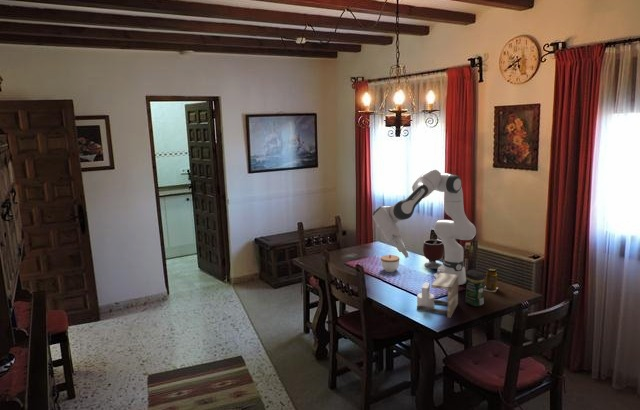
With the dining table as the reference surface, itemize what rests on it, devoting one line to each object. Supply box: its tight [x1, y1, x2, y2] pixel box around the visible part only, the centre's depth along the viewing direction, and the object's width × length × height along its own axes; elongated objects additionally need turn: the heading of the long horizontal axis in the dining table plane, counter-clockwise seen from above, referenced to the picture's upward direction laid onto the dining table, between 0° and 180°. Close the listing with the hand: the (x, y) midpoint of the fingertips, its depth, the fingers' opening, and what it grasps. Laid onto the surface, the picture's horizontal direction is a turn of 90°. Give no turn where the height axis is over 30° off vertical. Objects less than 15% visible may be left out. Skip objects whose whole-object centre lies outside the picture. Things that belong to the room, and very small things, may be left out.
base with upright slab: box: [416, 281, 435, 308], centre depth 240 cm, size 9×9×12 cm
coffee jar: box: [464, 269, 486, 307], centre depth 240 cm, size 10×8×19 cm
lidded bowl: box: [380, 254, 400, 273], centre depth 300 cm, size 13×13×11 cm
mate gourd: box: [422, 239, 445, 269], centre depth 306 cm, size 16×14×20 cm
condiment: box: [483, 268, 499, 293], centre depth 261 cm, size 7×8×12 cm
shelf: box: [416, 273, 459, 319], centre depth 236 cm, size 18×20×16 cm
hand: (407, 255), depth 236 cm, fingers open, 8 cm apart
